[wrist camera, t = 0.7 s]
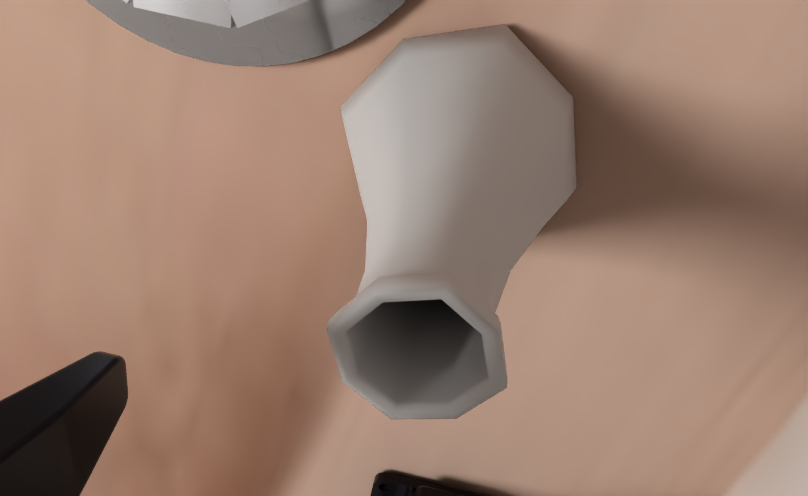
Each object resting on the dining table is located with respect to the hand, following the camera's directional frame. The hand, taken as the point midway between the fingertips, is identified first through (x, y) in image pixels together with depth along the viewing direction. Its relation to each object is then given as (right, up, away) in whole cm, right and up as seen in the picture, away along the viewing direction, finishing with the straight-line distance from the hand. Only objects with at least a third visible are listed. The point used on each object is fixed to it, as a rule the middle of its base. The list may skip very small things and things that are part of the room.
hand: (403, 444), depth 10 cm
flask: (+2, +6, +10) cm, 12 cm away
